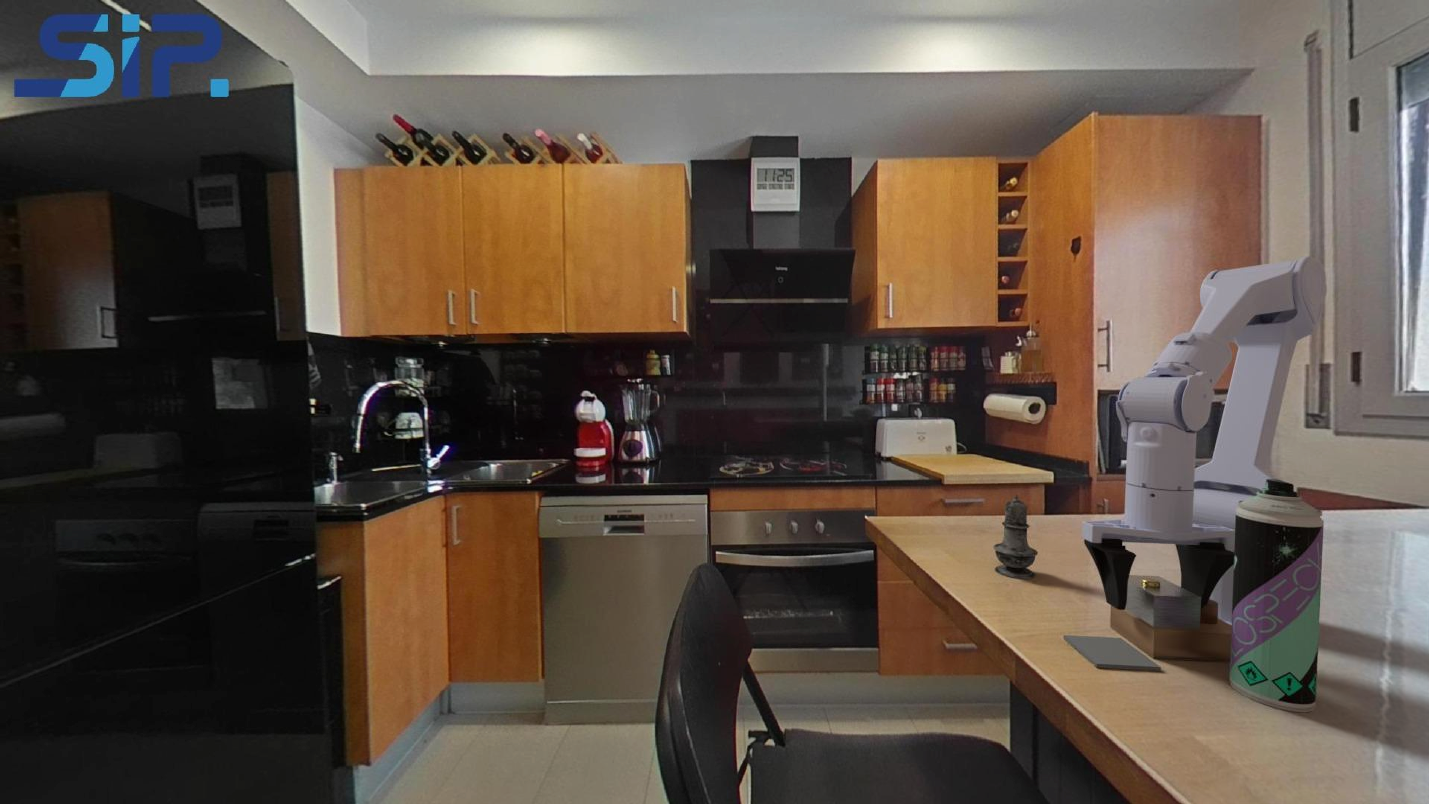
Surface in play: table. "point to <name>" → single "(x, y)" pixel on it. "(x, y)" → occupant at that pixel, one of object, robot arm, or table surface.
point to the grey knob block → (1162, 603)
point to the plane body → (1178, 636)
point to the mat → (1111, 653)
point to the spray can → (1276, 598)
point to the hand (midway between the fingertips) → (1153, 607)
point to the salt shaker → (1015, 543)
